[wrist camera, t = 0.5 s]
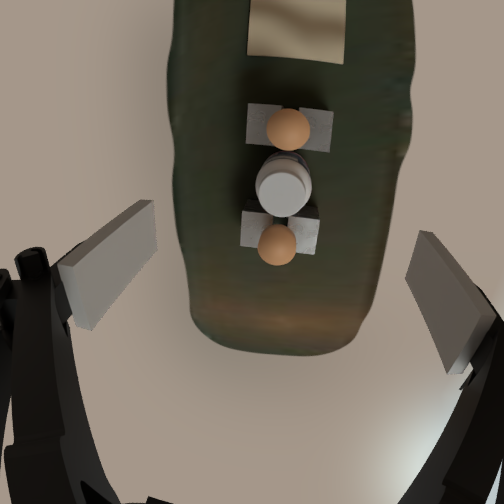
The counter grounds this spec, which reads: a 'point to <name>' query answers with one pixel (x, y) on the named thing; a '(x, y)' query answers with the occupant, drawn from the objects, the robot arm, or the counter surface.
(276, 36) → the coaster
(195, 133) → the counter surface
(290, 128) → the plunger
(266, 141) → the set of grey blocks
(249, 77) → the counter surface
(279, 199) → the pill bottle
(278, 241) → the plunger
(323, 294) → the counter surface
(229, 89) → the counter surface
